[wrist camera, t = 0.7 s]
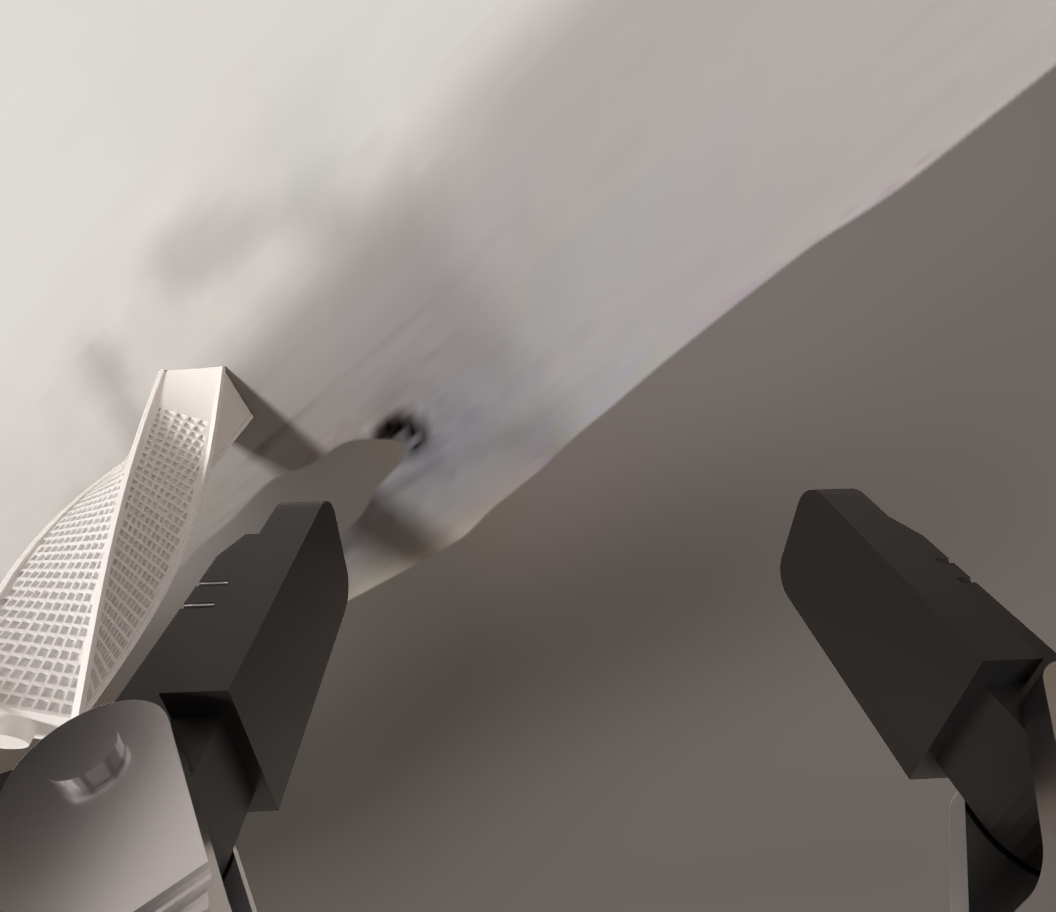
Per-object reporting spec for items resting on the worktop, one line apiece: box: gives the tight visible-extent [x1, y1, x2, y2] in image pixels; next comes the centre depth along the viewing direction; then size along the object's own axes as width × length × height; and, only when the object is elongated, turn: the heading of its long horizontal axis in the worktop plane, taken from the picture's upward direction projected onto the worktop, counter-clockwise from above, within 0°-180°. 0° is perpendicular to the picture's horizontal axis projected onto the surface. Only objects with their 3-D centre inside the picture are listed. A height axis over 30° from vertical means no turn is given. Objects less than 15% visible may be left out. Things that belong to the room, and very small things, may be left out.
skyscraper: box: [0, 366, 254, 749], centre depth 34 cm, size 8×8×28 cm
